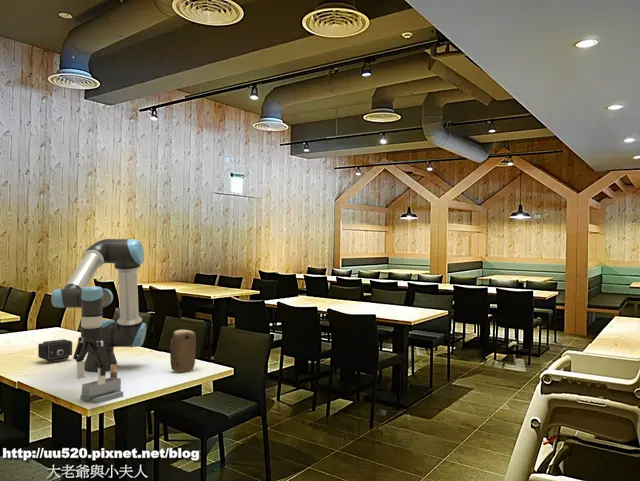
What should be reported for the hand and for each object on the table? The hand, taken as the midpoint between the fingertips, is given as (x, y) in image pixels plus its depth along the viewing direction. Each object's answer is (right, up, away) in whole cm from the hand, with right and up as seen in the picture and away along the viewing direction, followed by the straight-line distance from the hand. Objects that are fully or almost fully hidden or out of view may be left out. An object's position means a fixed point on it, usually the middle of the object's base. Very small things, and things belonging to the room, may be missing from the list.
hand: (90, 381), depth 196 cm
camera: (-47, -8, +64) cm, 80 cm away
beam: (+1, -8, +20) cm, 21 cm away
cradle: (+3, -8, +4) cm, 9 cm away
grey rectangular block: (+3, -4, +4) cm, 6 cm away
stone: (+23, -9, +49) cm, 54 cm away
